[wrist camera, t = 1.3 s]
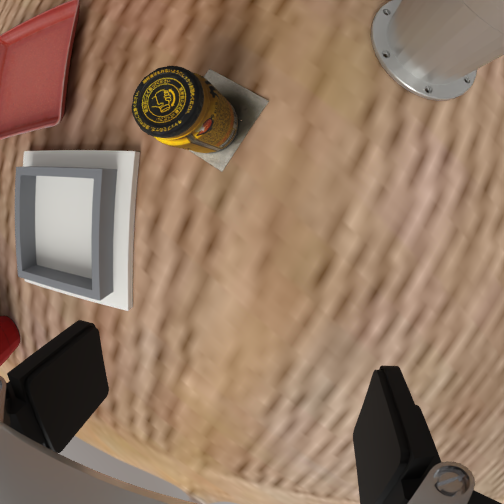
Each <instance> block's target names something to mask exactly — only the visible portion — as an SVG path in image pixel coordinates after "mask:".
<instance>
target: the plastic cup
mask: <svg viewBox="0 0 504 504" xmlns="http://www.w3.org/2000/svg"><path fill="white" fill-rule="evenodd" d="M19 343H20V335H19V332H18V329H17V327H16V325H15V324H14V323H13V321H12V320H11V319H10V318H8V317H7V316H0V366H1V365H2V364H3V363H4V362H5V361H6V360H7V359H8V358H9V356H10V355H11V353H12V352H13V351H14V350H15V349H16V348H17V347H18V345H19Z"/></svg>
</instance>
